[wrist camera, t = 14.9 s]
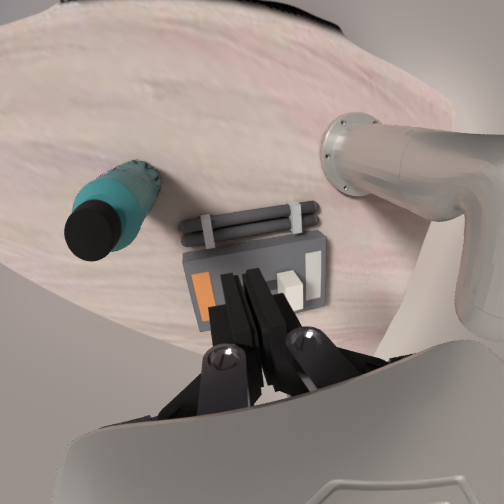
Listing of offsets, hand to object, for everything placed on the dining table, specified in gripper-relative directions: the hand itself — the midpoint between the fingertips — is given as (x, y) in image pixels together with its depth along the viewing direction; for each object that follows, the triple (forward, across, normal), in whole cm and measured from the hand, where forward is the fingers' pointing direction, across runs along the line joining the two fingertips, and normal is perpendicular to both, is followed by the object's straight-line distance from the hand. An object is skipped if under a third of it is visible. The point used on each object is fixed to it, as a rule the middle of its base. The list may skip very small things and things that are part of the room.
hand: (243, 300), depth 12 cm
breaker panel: (+27, -5, +15) cm, 31 cm away
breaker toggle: (+24, -9, +15) cm, 29 cm away
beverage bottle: (+27, +9, -2) cm, 29 cm away
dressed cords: (+27, -5, +6) cm, 28 cm away
